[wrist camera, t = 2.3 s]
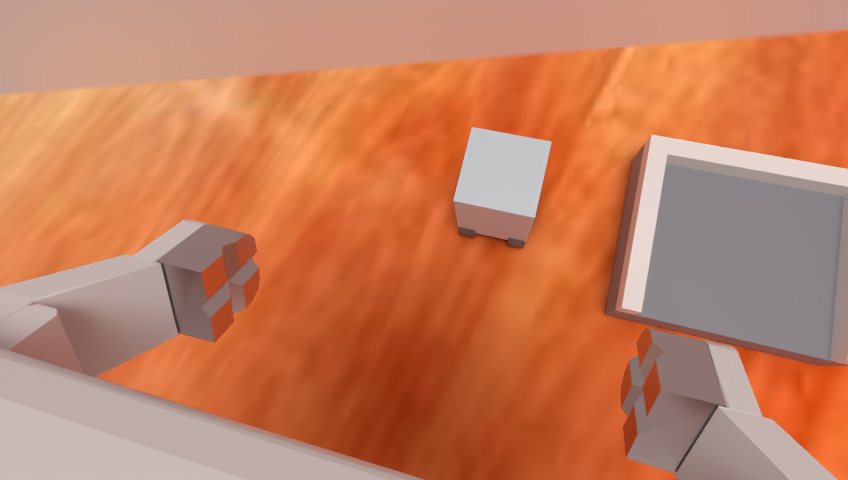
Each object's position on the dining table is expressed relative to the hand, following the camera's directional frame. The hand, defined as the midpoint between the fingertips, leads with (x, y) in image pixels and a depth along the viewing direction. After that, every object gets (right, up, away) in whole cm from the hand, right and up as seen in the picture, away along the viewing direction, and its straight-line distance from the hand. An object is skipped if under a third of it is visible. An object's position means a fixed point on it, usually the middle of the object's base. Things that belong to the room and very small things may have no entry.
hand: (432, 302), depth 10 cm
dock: (+21, 0, +25) cm, 33 cm away
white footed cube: (+6, +4, +28) cm, 29 cm away
